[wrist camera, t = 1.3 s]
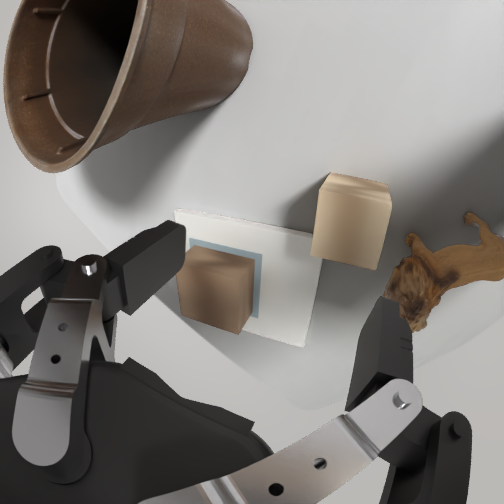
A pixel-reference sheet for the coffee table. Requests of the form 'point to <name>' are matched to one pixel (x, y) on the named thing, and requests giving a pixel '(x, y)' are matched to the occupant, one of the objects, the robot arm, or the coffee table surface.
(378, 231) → the oak block
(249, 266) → the walnut plinth
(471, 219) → the lion figurine
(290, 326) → the board
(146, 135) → the coffee table surface
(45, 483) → the robot arm
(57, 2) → the plant pot
